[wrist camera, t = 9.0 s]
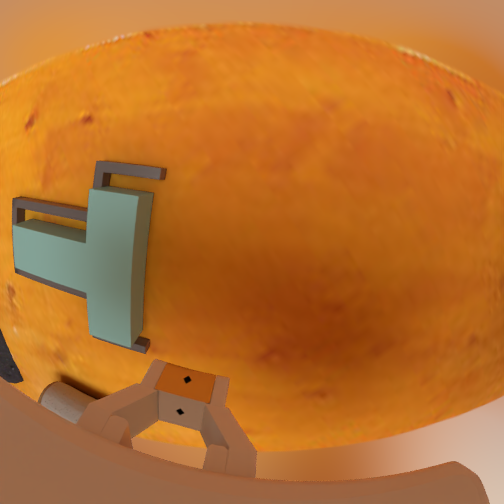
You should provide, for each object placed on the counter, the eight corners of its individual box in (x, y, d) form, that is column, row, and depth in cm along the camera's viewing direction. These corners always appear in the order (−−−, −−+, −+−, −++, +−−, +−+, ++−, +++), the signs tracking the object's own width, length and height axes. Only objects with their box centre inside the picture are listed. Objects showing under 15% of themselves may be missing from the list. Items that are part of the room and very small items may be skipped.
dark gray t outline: (166, 168, 19) (161, 168, 18) (149, 346, 23) (145, 353, 22) (24, 155, 18) (16, 156, 17) (26, 302, 22) (20, 306, 21)
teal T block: (154, 192, 20) (138, 196, 17) (142, 329, 23) (131, 347, 20) (35, 176, 19) (14, 179, 16) (37, 293, 22) (20, 305, 19)
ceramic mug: (56, 366, 25) (25, 406, 17) (114, 394, 25) (89, 443, 18) (67, 414, 28) (45, 449, 20) (116, 437, 28) (99, 478, 21)
